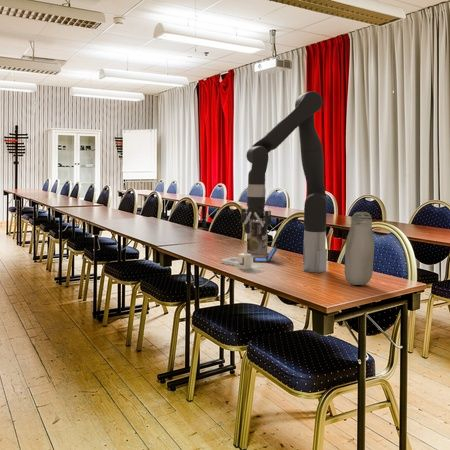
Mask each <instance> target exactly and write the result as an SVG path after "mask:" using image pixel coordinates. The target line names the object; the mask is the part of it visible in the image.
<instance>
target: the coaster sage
mask: <svg viewBox="0 0 450 450" xmlns="http://www.w3.org/2000/svg"><path fill="white" fill-rule="evenodd" d="M251 267H252V268H253V269H259V268H264V267H265V266H264V265H259V264H255V263H254V264H251Z"/></svg>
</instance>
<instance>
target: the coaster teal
mask: <svg viewBox="0 0 450 450" xmlns="http://www.w3.org/2000/svg"><path fill="white" fill-rule="evenodd" d="M235 269H238V270H244V271H247V270H251V269H254V268H252V267H251V268H249V269H241V268H238V266H235Z"/></svg>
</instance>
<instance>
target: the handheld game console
mask: <svg viewBox="0 0 450 450" xmlns="http://www.w3.org/2000/svg"><path fill="white" fill-rule="evenodd" d="M277 250H278V249H277V244H274V246H273V247H272V249H271V250H270V252H269V253H268V255H267V256H254V257H252V263H254V264H255V263H256V264H257V263H258V264H259V263H260V264H269V263H270V261H271V259H272V257H274V255H275V254H276V253H277Z"/></svg>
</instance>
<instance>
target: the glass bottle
mask: <svg viewBox="0 0 450 450" xmlns="http://www.w3.org/2000/svg"><path fill="white" fill-rule="evenodd" d="M350 222H351V223H350V226H349V231H348V234H347V236H346V239H345V248H344V249H345V250H344V251H345V252H344V277H345V279H346V281H347V282H348V284H351V285H352V286H355V285H362V286H365V285H366V284H368V283H369V282H370V281H371V279H372V278H373V269H374V259H375V258H374V257H375V241H374V240H375V239H374V234H373V233H374V232H373V227H372V226H373V218H372V215H371V214H370V213H369V212H367V211H357V212H355V213H353V215H352V216H351V219H350Z"/></svg>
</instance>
